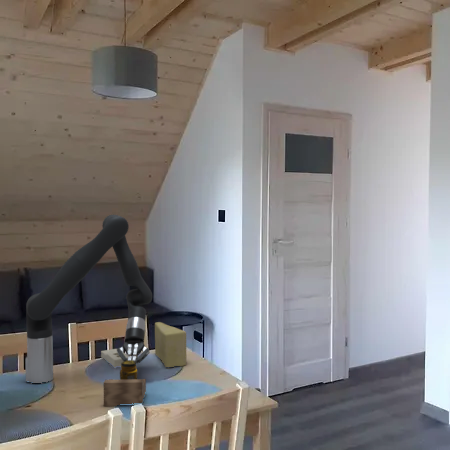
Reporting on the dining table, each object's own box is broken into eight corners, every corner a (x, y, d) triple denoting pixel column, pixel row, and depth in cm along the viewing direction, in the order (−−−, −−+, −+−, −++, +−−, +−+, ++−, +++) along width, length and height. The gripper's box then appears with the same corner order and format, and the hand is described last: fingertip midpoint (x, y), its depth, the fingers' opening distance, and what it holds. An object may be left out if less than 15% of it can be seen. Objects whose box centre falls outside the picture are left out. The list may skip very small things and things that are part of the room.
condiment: (139, 391, 186) (139, 359, 185) (137, 400, 177) (137, 366, 177) (119, 392, 185) (118, 359, 185) (116, 401, 177) (115, 367, 176)
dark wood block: (103, 406, 172) (103, 382, 172) (109, 394, 183) (109, 372, 182) (142, 405, 173) (142, 382, 172) (145, 394, 183) (145, 372, 183)
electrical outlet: (116, 346, 230) (130, 357, 215) (116, 355, 230) (130, 366, 215) (101, 348, 227) (114, 359, 211) (101, 358, 227) (114, 369, 211)
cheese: (146, 355, 229) (146, 322, 229) (166, 352, 234) (166, 319, 234) (165, 369, 210) (165, 333, 210) (187, 365, 215) (187, 330, 214)
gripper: (117, 326, 199) (111, 367, 187) (151, 326, 199) (147, 367, 188) (119, 336, 204) (114, 377, 193) (153, 336, 205) (149, 376, 193)
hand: (130, 372), depth 190 cm, fingers closed
